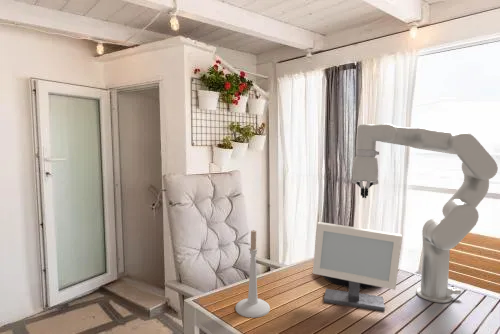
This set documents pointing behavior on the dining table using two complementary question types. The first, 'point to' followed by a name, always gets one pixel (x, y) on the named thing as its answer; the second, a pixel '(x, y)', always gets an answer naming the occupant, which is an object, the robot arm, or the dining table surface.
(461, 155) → the robot arm
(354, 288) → the frame stand
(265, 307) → the candlestick
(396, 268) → the picture frame
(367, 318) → the dining table surface
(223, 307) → the dining table surface
